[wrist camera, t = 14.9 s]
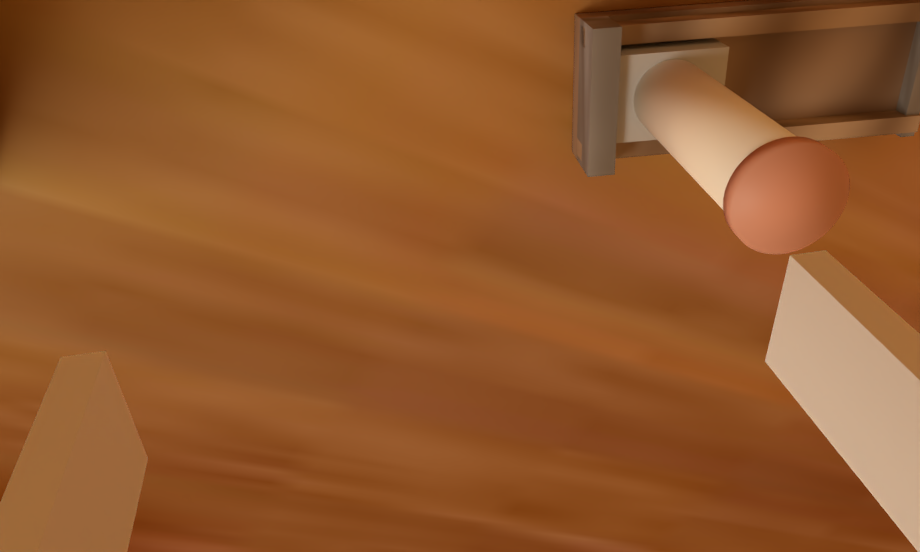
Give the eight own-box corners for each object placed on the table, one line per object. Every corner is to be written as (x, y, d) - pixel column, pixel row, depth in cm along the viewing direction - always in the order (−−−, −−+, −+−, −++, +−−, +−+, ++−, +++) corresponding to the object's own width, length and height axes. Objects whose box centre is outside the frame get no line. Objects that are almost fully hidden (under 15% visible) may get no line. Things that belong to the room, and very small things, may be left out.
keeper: (603, 131, 44) (706, 263, 30) (606, 46, 41) (721, 148, 27) (704, 122, 44) (853, 249, 30) (713, 38, 41) (880, 134, 28)
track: (572, 151, 45) (588, 176, 42) (575, 13, 41) (592, 29, 38) (891, 123, 46) (933, 146, 43) (924, -14, 42) (973, -1, 39)
